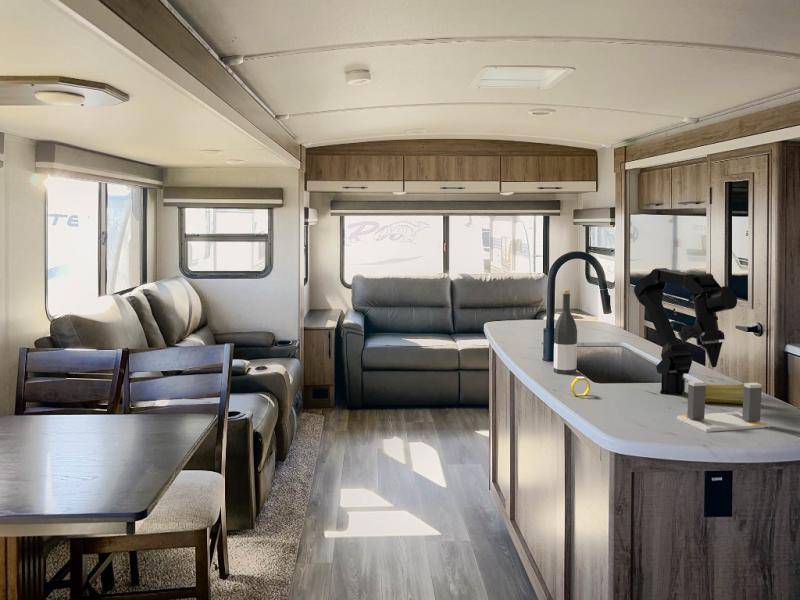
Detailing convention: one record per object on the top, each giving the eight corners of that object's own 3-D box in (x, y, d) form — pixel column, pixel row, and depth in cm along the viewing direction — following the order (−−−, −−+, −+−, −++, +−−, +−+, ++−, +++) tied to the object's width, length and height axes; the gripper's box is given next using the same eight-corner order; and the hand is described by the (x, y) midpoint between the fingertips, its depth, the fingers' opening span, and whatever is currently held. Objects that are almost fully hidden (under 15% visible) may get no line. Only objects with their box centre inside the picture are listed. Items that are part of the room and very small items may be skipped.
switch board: (677, 418, 203) (677, 415, 203) (737, 414, 206) (738, 411, 206) (705, 431, 190) (706, 428, 190) (769, 427, 194) (770, 423, 194)
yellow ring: (574, 398, 228) (573, 379, 227) (570, 396, 231) (569, 377, 230) (591, 395, 229) (590, 377, 229) (587, 393, 232) (586, 375, 231)
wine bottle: (554, 374, 262) (555, 290, 259) (553, 369, 270) (554, 288, 266) (577, 374, 260) (578, 290, 257) (575, 370, 268) (577, 288, 265)
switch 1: (687, 417, 200) (688, 381, 199) (698, 416, 201) (700, 380, 200) (692, 419, 198) (694, 383, 197) (704, 418, 198) (705, 382, 197)
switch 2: (742, 419, 197) (744, 383, 196) (753, 418, 198) (755, 382, 197) (748, 422, 195) (750, 385, 194) (760, 421, 196) (761, 384, 195)
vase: (746, 381, 220) (695, 380, 224) (749, 387, 214) (697, 386, 218) (745, 400, 221) (694, 399, 225) (749, 407, 215) (696, 406, 219)
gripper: (675, 321, 228) (683, 371, 226) (678, 315, 211) (687, 369, 208) (713, 316, 225) (722, 367, 223) (720, 310, 208) (729, 365, 205)
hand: (714, 367), depth 215 cm, fingers closed
